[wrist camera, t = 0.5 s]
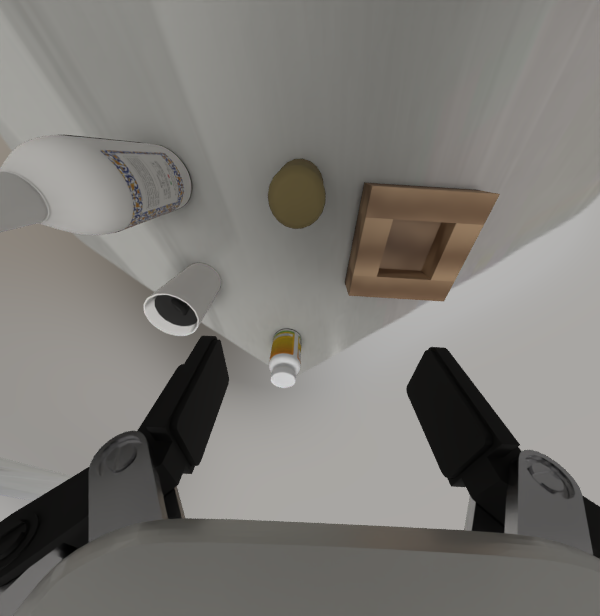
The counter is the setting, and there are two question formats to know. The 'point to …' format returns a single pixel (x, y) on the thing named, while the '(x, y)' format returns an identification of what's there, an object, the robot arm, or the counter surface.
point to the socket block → (413, 239)
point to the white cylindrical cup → (183, 300)
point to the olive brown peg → (297, 194)
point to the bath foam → (89, 184)
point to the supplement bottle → (285, 358)
